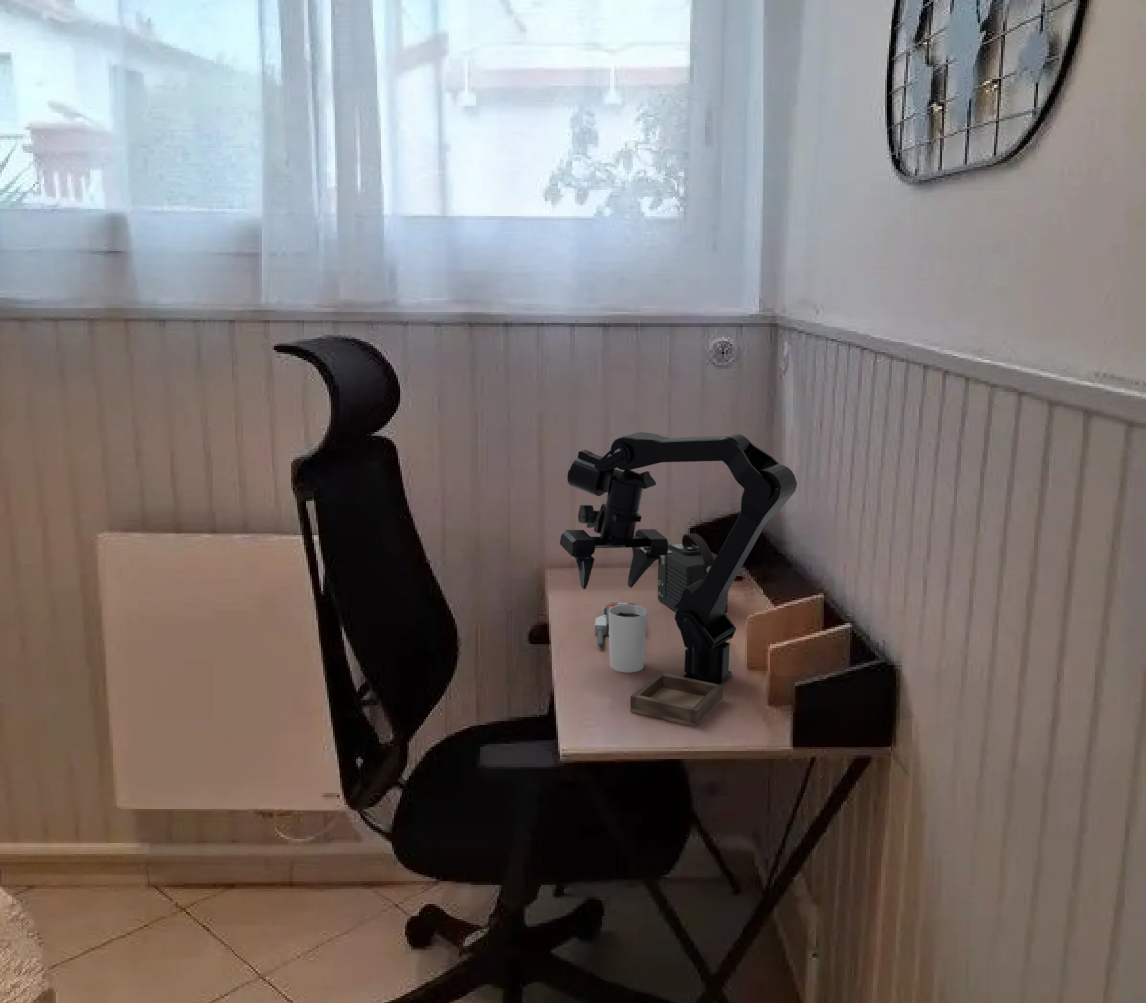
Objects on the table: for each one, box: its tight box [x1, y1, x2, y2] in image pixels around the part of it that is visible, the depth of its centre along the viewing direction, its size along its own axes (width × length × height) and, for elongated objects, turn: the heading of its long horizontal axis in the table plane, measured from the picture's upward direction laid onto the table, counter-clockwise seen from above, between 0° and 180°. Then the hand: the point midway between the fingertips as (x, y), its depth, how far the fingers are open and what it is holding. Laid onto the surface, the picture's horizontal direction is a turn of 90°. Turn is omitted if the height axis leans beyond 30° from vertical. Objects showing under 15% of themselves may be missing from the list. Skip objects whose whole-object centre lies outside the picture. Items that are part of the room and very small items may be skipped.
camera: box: [657, 533, 729, 614], centre depth 210 cm, size 11×14×15 cm
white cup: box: [608, 604, 648, 674], centre depth 179 cm, size 7×7×10 cm
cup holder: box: [629, 671, 724, 728], centre depth 164 cm, size 11×11×3 cm
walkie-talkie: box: [594, 602, 639, 648], centre depth 197 cm, size 9×4×20 cm
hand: (606, 587), depth 184 cm, fingers open, 9 cm apart
